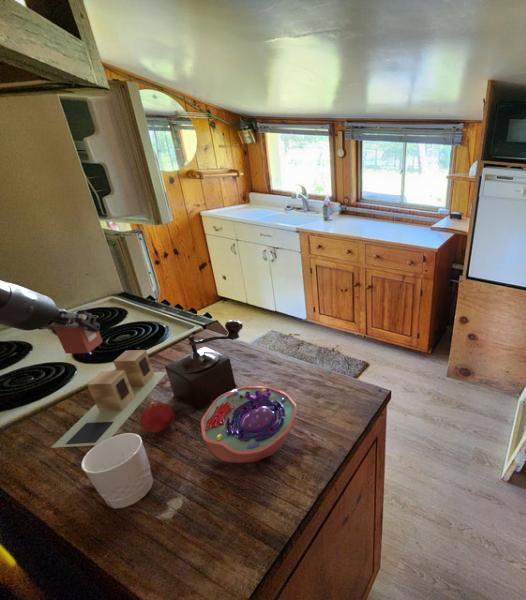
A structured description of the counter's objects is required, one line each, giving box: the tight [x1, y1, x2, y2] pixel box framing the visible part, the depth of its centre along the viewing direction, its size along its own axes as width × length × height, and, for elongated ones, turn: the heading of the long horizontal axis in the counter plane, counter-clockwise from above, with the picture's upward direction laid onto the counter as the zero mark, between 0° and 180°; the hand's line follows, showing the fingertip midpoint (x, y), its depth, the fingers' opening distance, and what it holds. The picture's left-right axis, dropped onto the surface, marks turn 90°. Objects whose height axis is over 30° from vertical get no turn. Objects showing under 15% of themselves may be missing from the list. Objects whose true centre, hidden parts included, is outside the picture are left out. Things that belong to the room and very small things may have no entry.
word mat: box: [50, 371, 167, 449], centre depth 77 cm, size 10×24×1 cm, turn 6°
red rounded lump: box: [139, 401, 175, 433], centre depth 69 cm, size 6×6×8 cm
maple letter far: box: [112, 349, 155, 387], centre depth 83 cm, size 5×5×8 cm
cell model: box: [200, 385, 298, 464], centre depth 67 cm, size 17×20×11 cm
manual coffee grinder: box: [164, 319, 243, 411], centre depth 81 cm, size 16×11×18 cm
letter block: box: [53, 312, 103, 355], centre depth 76 cm, size 5×5×8 cm
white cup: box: [80, 432, 155, 509], centre depth 57 cm, size 8×8×10 cm
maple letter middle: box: [86, 370, 135, 412], centre depth 75 cm, size 5×5×8 cm
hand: (84, 328), depth 78 cm, fingers closed on letter block, 5 cm apart
